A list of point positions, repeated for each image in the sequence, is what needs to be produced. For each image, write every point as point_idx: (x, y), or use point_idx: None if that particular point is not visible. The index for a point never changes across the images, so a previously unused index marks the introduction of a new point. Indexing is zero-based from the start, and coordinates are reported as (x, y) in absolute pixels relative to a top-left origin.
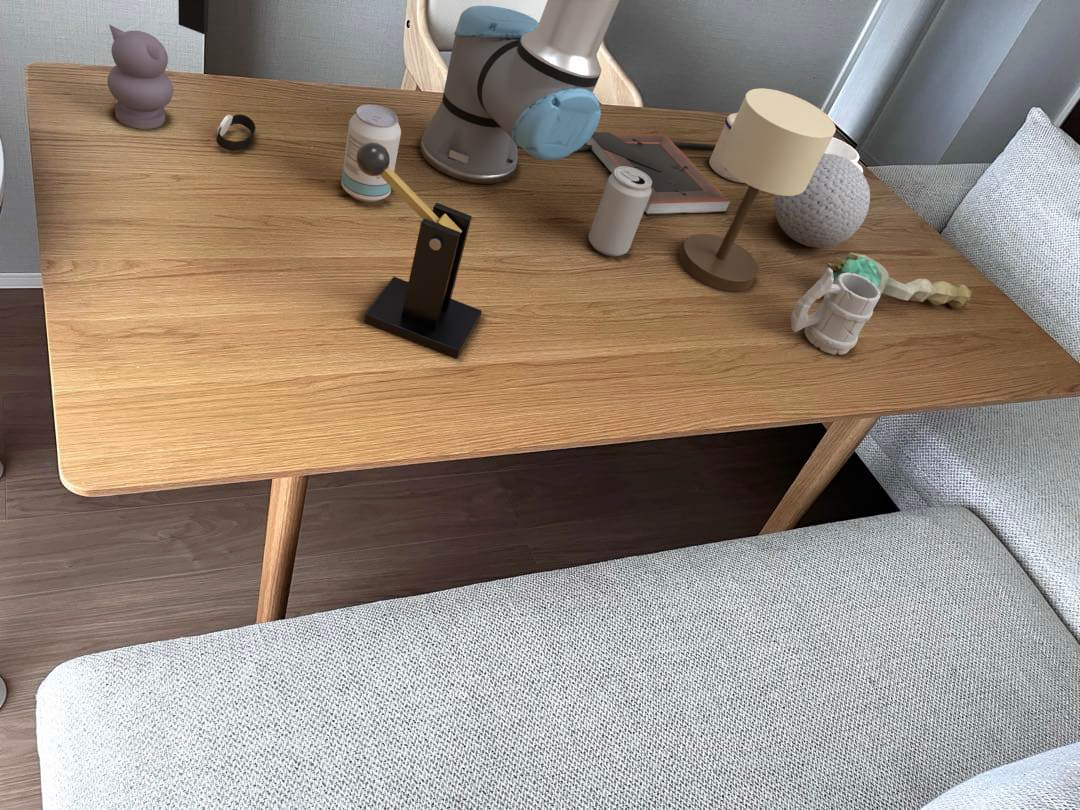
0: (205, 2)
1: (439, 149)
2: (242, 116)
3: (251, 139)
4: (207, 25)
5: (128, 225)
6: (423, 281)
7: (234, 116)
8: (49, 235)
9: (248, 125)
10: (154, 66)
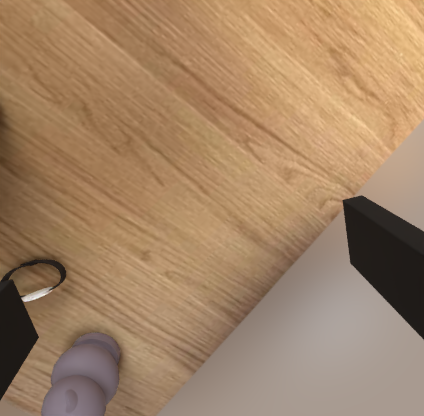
0: (404, 223)
1: None
2: None
3: (24, 263)
4: (354, 204)
5: (243, 222)
6: None
7: None
8: (305, 248)
9: None
10: (78, 383)
